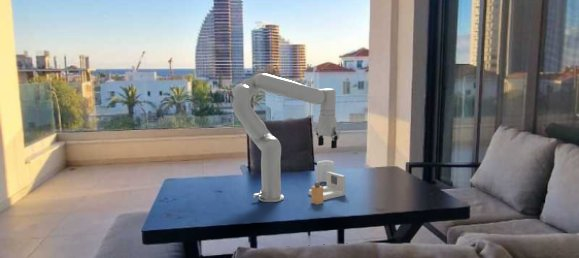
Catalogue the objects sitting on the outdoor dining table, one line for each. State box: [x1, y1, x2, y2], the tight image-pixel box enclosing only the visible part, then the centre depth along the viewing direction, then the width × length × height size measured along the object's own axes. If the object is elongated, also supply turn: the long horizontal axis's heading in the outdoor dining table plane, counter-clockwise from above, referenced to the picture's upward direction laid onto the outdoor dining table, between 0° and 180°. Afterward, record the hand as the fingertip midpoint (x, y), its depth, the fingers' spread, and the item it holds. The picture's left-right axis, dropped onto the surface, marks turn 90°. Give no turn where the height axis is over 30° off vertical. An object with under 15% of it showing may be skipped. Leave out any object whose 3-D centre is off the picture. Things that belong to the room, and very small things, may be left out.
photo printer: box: [315, 159, 335, 183], centre depth 251 cm, size 10×4×12 cm, turn 98°
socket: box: [308, 171, 346, 201], centre depth 225 cm, size 14×12×10 cm
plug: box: [310, 181, 324, 205], centre depth 213 cm, size 4×4×10 cm
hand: (327, 146), depth 225 cm, fingers open, 9 cm apart
